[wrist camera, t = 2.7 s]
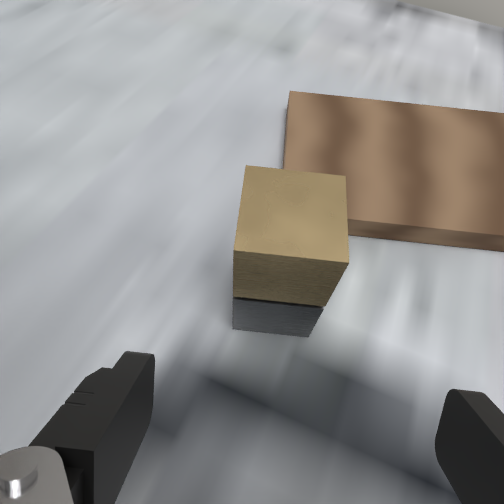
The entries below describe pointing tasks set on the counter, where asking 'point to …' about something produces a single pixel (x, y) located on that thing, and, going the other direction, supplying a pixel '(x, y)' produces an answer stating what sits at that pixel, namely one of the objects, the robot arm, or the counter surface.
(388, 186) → the stand
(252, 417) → the counter surface
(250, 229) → the block
